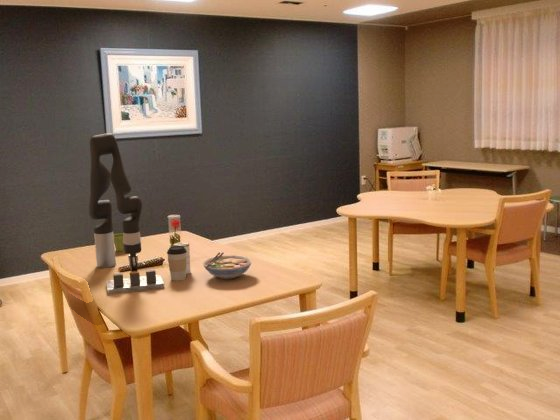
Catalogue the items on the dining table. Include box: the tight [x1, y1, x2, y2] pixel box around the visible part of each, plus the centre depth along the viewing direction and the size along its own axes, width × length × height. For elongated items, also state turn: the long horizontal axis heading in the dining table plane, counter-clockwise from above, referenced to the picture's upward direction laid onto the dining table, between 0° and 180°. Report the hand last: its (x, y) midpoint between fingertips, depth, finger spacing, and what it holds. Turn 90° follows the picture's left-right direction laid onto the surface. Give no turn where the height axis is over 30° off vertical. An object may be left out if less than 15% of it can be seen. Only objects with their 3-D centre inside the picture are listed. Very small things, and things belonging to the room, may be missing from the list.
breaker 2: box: [145, 269, 157, 283], centre depth 262 cm, size 2×4×5 cm, turn 108°
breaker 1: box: [112, 272, 124, 287], centre depth 258 cm, size 2×4×5 cm, turn 108°
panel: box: [106, 274, 165, 296], centre depth 263 cm, size 14×24×2 cm, turn 108°
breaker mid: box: [129, 270, 141, 285], centre depth 259 cm, size 2×4×6 cm, turn 108°
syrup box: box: [172, 241, 192, 275], centre depth 280 cm, size 6×6×14 cm
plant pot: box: [113, 233, 124, 253], centre depth 327 cm, size 9×9×9 cm
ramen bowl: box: [202, 252, 253, 280], centre depth 273 cm, size 25×23×8 cm
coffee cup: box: [166, 245, 187, 281], centre depth 273 cm, size 9×9×15 cm
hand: (134, 279), depth 264 cm, fingers closed
